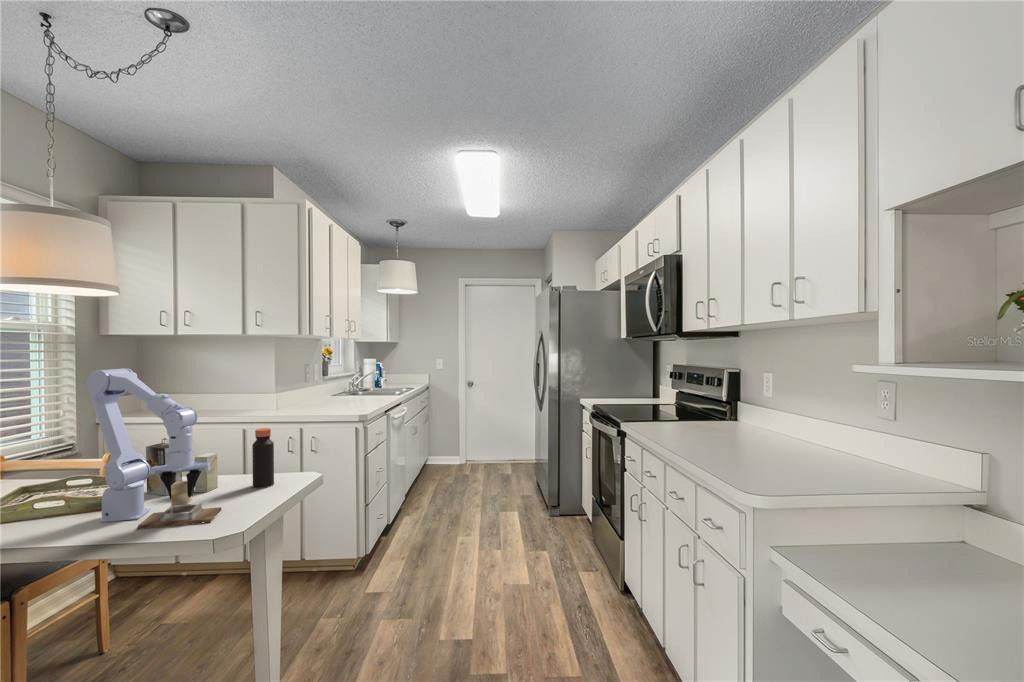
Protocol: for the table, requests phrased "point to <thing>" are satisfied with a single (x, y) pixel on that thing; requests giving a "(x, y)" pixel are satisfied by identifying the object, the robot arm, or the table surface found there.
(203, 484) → the skincare box
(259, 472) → the bottle
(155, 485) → the coffee box
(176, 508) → the socket stand
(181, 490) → the peg
